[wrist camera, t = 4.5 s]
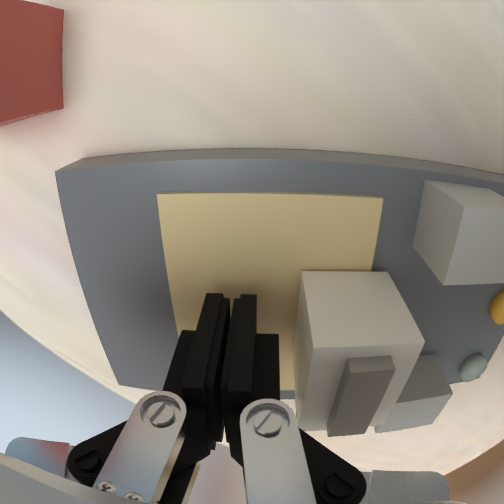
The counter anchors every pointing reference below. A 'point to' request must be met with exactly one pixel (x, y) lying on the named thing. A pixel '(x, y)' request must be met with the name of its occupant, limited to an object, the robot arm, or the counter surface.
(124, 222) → the breaker panel
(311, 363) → the breaker switch
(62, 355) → the counter surface
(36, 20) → the red block
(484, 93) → the counter surface
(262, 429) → the robot arm
